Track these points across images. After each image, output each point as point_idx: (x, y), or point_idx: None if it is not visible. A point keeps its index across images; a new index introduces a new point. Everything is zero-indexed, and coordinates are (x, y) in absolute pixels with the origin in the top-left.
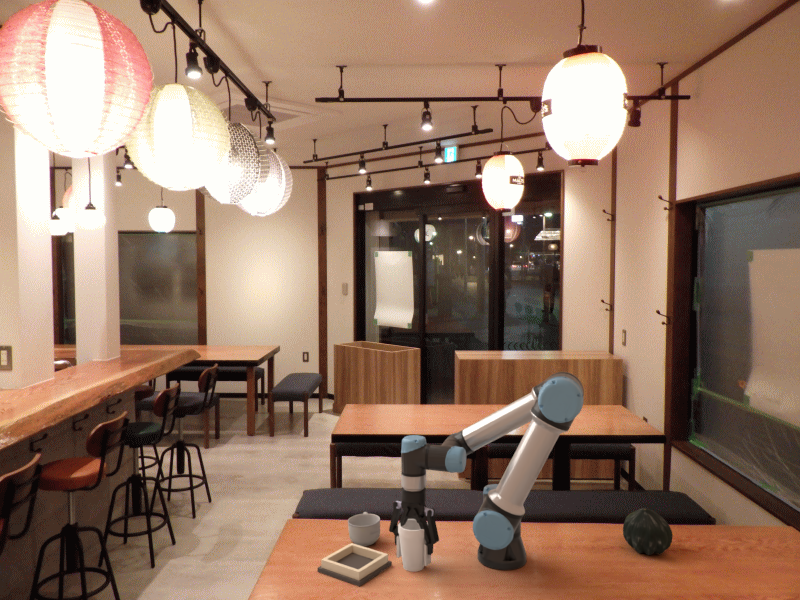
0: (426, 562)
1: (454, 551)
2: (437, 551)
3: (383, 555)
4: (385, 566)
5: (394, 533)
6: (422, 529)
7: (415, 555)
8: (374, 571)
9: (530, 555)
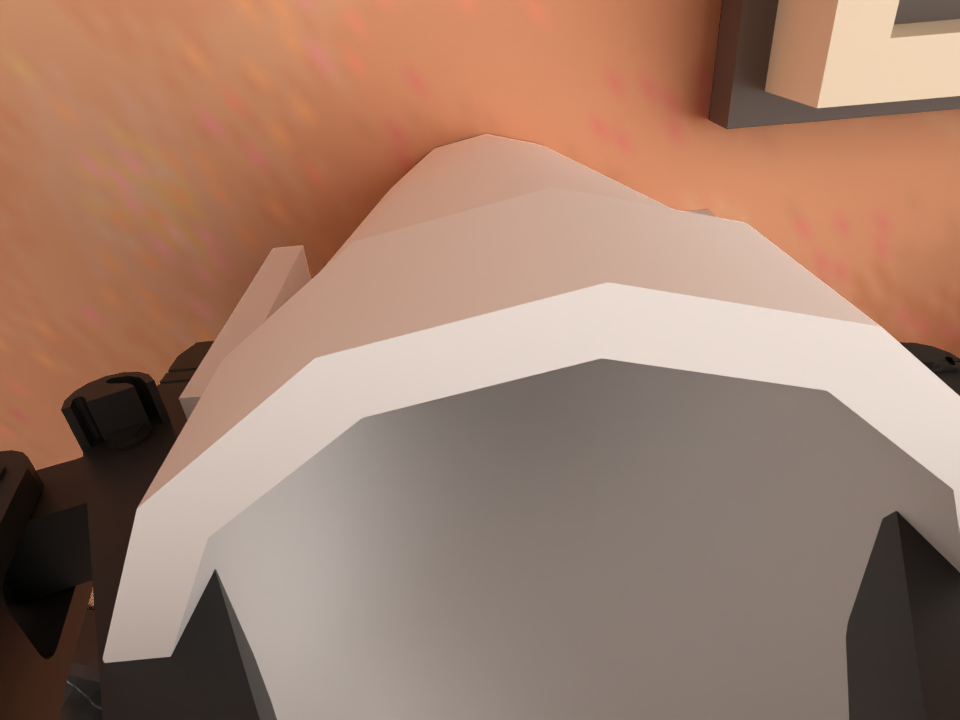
0: (263, 271)
1: None
2: None
3: (865, 17)
4: None
5: (940, 354)
6: (135, 638)
7: (366, 220)
8: None
9: None
